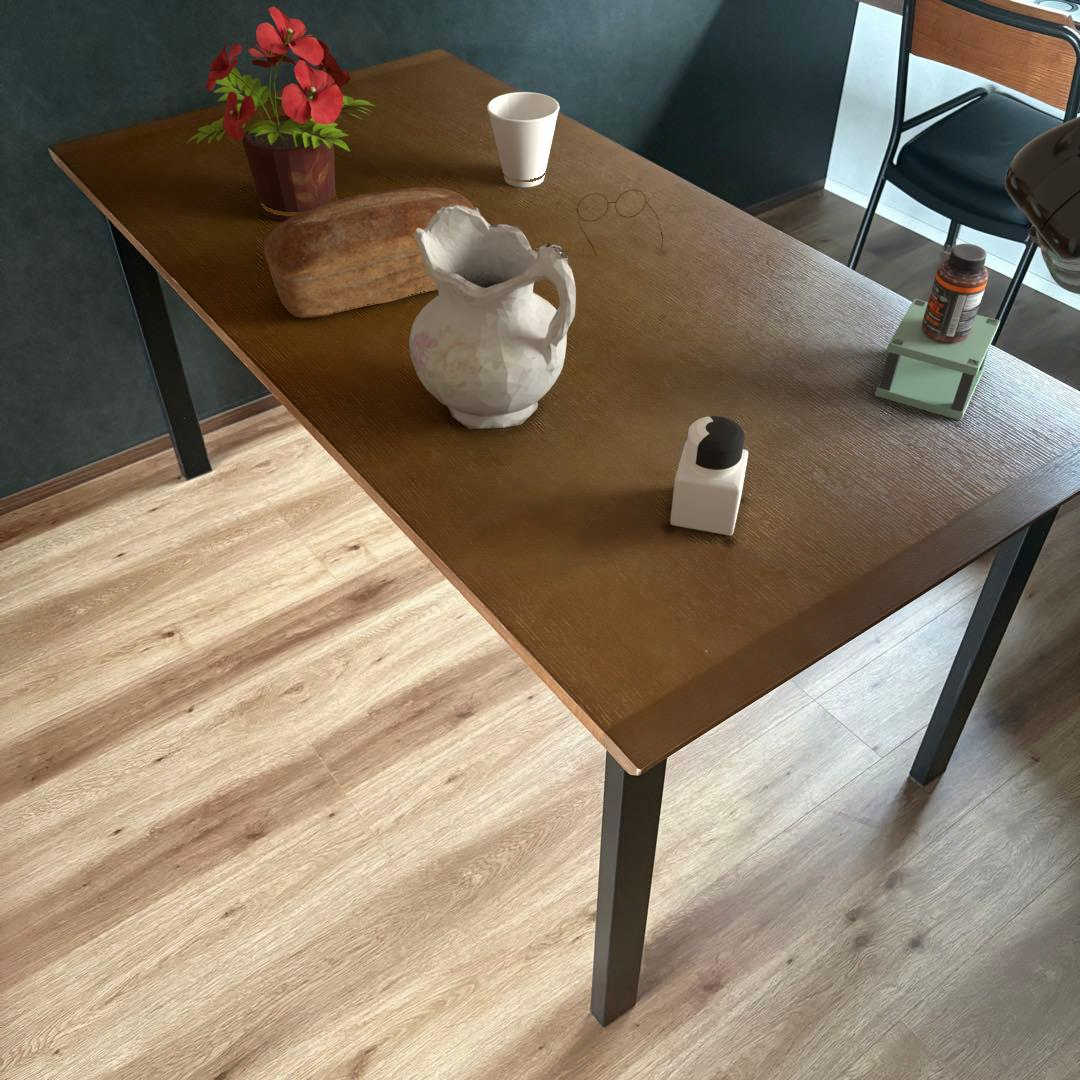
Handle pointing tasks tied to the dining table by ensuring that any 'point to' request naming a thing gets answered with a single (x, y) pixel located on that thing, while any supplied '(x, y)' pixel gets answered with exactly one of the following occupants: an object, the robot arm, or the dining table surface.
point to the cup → (523, 134)
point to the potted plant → (285, 117)
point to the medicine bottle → (710, 476)
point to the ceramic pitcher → (489, 319)
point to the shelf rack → (934, 365)
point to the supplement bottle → (956, 294)
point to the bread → (354, 251)
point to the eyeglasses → (618, 213)
